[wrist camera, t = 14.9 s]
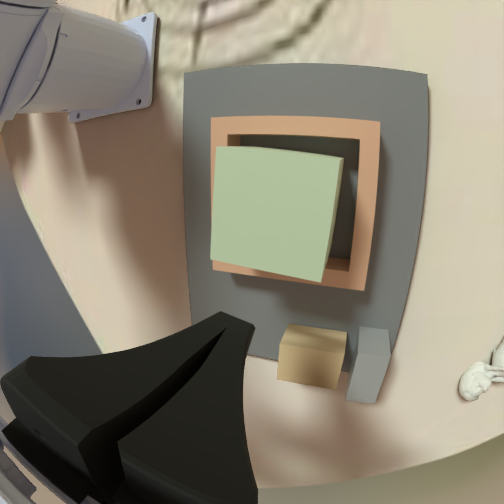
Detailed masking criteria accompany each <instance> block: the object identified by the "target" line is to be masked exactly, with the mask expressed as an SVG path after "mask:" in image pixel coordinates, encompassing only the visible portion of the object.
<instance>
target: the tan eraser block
mask: <svg viewBox="0 0 504 504" xmlns="http://www.w3.org/2000/svg"><path fill="white" fill-rule="evenodd" d="M346 338H347V332H344V331H337V330H330V329H323V328H316V327H309V326H303V325H297V324H291V323H289V324H288V326H287V328H286V331H285V333H284V335H283V337H282V340H281V342H280V346H279V359H278V372H277V379H278V380H283V381H289V382H294V383H299V384H305V385H311V386H317V387H323V388H330V389H336V388H337V384H338V380H339V376H340V372H341V367H342V363H343V359H344V354H345V346H346Z"/></svg>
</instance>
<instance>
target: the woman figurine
mask: <svg viewBox="0 0 504 504" xmlns="http://www.w3.org/2000/svg"><path fill="white" fill-rule="evenodd" d="M491 382H504V339H503V341H502V342H501V344H500V345H499V347H498V348H497V349H495V350H493V357H492V365H489V364H487V363H485V362H477V363H475V364H473V365H472V366H471V367H470V368H469V369H467V371H466V372H465V373H464V374H463V375H462V377H461V378H460V383H459V393H460V394H461V396H462V397H464V399H466V400H468V401H474V400H477V399H478V397H479V395H480V394H482V393H485V392H486V391H487V390H488V389H489V387H490V386H491Z"/></svg>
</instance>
